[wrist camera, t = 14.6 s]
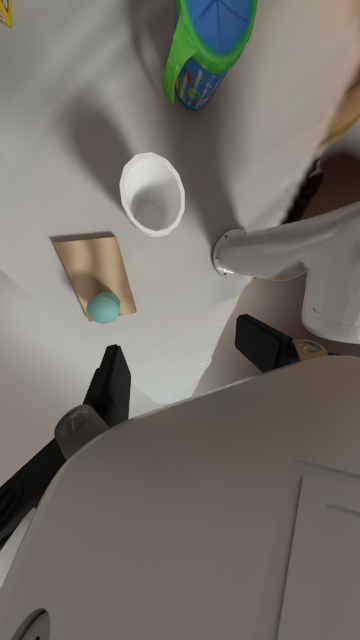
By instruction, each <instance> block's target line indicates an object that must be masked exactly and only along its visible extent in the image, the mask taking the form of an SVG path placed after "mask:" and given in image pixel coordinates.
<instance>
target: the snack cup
mask: <svg viewBox="0 0 360 640" xmlns="http://www.w3.org/2000/svg"><path fill="white" fill-rule="evenodd" d="M256 7H257V0H176V13H175V25H174V36H173V41H172V44H171V48H170V52H169V56H168V60H167V64H166V68H165V71H164V74H163V77H162V87H163V90H164V93H165V95H166V97H167V98H168V100H169V102H170V103H171V104H172V105H173V104H174V86H175V87H176V90H177V95H178V97H179V99H180V100H182V102H183V103H184V104H185V105H186V106H187V107H189V108H191V109H194V110H195V111H196V110H199V109H200V108H201V107H203V106H204V105H205V104H206V103H207V101H208V100H209V99H210V97H211V96H212V94H213V92H214V91H215V90H216V88H217V87H218V85H219V83H220V82H221V80H222V79H223V77H224V76H225V74H226V73H227V71H228V69H230V68H231V67H232V66H233V65H234V64H235V62H236V61H237V60H238V58H239V57H240V55H241V53H242V51H243V49H244V47H245V45H246V43H247V42H248V40H249V38H250V35H251V32H252V29H253V23H254V19H255V14H256Z"/></svg>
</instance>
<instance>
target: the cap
mask: <svg viewBox="0 0 360 640" xmlns="http://www.w3.org/2000/svg"><path fill="white" fill-rule="evenodd" d="M120 303H121V301H120V300H119V299H118V298H117V296H116V295H115V294H114V293H108V292H101V293H100V294H98V295H97V296H95V297H94V298H92V299H91V300H90V301H89V302H88V304H87V308H86V310H87V314H88V315H89V317H90V318H91V319H92V320H94V321H95V322H98V323H102V324H107V323H111V322H113V321H114V320H115V319H116V318H117V316H118V314H119V311H120Z"/></svg>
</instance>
